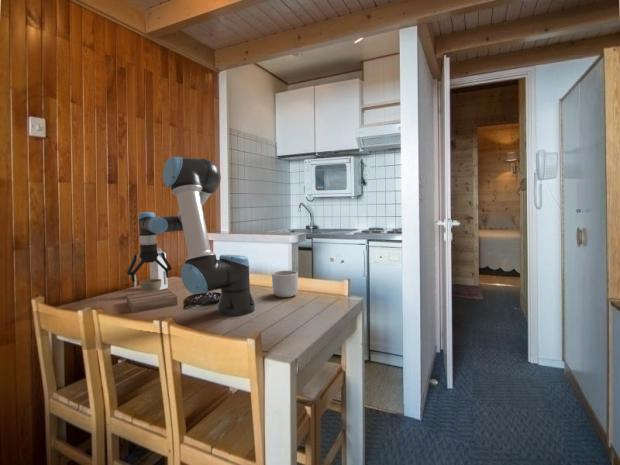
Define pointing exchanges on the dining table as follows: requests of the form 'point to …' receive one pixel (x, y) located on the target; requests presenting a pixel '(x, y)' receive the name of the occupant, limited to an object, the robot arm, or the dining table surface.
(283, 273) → the planter
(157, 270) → the milk
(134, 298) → the stand
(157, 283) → the olive green bowl
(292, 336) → the dining table surface
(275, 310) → the dining table surface
